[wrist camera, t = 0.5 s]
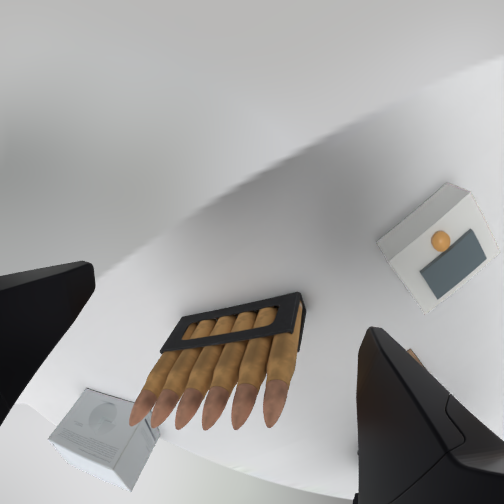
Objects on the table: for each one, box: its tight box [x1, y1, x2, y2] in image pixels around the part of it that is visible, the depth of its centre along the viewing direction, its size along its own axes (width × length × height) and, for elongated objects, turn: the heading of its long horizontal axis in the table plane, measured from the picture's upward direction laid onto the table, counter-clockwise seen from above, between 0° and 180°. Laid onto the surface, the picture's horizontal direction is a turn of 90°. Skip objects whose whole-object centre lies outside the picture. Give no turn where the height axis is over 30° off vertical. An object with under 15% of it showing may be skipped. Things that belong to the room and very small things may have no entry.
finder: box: [377, 183, 500, 315], centre depth 18 cm, size 5×7×4 cm
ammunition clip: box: [129, 292, 306, 430], centre depth 20 cm, size 11×2×12 cm, turn 110°
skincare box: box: [48, 389, 160, 492], centre depth 30 cm, size 10×6×10 cm, turn 93°
